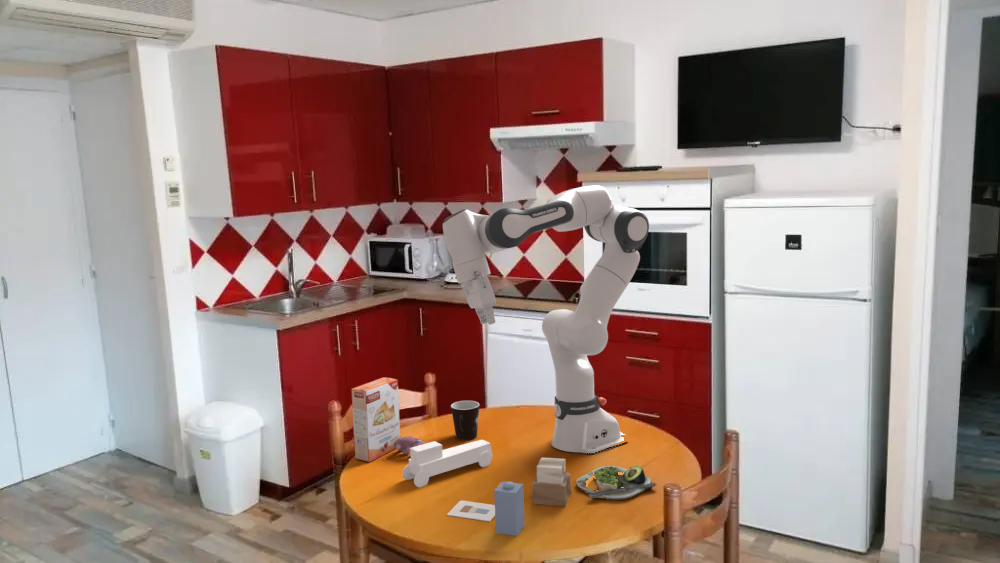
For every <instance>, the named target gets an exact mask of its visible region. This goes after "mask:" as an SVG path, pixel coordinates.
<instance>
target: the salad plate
mask: <svg viewBox="0 0 1000 563" xmlns="http://www.w3.org/2000/svg"><path fill="white" fill-rule="evenodd" d="M618 472H622V473H623V472H624V474H623V475H618ZM592 476H595V478H596V479H595V484H596V488H597V489H595V490H593V489H594V488H590V487H589V488H588V487H586V481H587V480H588V479H589V478H590V477H592ZM575 483H576V486H577V487H578V489H580V490H581V491H582V492H583V491H584V493H585V492H587V493H589V494H587V493H586V494H587V495H588V498H593V499H595V498H596V499H597V498H598V499H600V498H606V499H605V500H627V499H626V498H628V499H630V498H629V497H631V498H633V497H635V496H636V494H637V495H639V494H640V493H639V492H641V491H643V490H645V491H647V490H649V489H652V488H654V487H655V486H656V485H658V483H657V482H652V480H651V478H650V477H648V476H646V474H645V471H644V469H643V468H642V466H639V465H633V466H631V467H629V469H626V468H623V467H621V466H617V465H607V466H606V465H605V466H604V465H603V466H599V467H597V468H595V469H593V470H591V471H590V472H588V473H585V474H583V475H581V476H580V477H577V479H576V482H575ZM621 487H624V488H621ZM646 489H647V490H646ZM596 490H598V491H596ZM643 492H644V491H643ZM638 493H639V494H638ZM641 493H642V492H641ZM634 495H635V496H634ZM632 496H633V497H632Z"/></svg>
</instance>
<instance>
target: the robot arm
mask: <svg viewBox="0 0 1000 563" xmlns="http://www.w3.org/2000/svg"><path fill="white" fill-rule="evenodd" d="M582 228H584V231H585V232H586V234H587V235H588V237H590V238H591V239H592V240H594V241H596V242H600V243H601V242H602V243H604V249H603V252H602V255H601V256H600V258H599V259H598V261H597V262H596V263H595V264H594V266H593V268H592V269H591V271H590V272H589V273H588V275H587V277H586V278H585V279H584V280H583V282H582V283H581V286H580V287H579V288H580V289H579V294H580V298H579V300H578V301H579V302H578V305H577V307H576V309H575V311H573V310H571V309H566V308H562V309H561V308H560V309H554V310H551V311H549V312H548V313H547V314H546V315H544V318H543V320H542V322H541V330H542V333H543V335H544V337H545V339H546V341H547V344H548V347H549V350H550V354H551V358H552V362H553V367H554V368H553V369H554V376H555V377H554V378H555V396H554V416H555V421H554V422H555V423H554V429H553V436H552V439H551V442H550V443H551V446H552V447H553V448H555V449H557V450H560V451H564V452H568V453H580V454H581V453H582V454H587V453H588V455H590V454H589V453H594V454H596V453H595V452H597V453H599V452H598V451H600V450H603V449H605V448H608V447H611V446H613V445H615V444H617V443H620V442H622V441H624V437H621V435H626V434H625V433H624V434H623V432H622V431H621V430H620V429H621V428H620V424H619V422H618V421H617V419H616V418H615V417H614V416H613V415H612V414H610V413H609V412H607V411H606V410H604V409H603V408H601V406H605V405H606V404H607V399H606V398H604V397H602V396H600V397H599V396H598V395H596V394H595V371H594V368H593V367H592V366H593V365H591V363H590V361H589V358H588V356H595V355H598V354H600V353H601V352H603V351H604V350H605V348H606V347H607V344H608V341H609V332H608V324H609V320H610V316H611V314H612V312H613V310H614V307H615V305H616V304H617V303H618V301H619V299H620V298H621V296H622V295H623V293H624V291H625V290H626V289H627V287H628V286H629V283H630V282H631V280H632V278H633V277H634V275H635V273H636V271H637V268H638V266H639V263H640V260H641V255H640V252H639V250H640V249H641V248H642V247H643V246H644V243H645V241H646V239H647V238H648V233H649V231H650V230H649V229H650V222H649V219H648V217H647V215H646V214H644V213H643V212H642V211H640V210H638V209H636V208H629V207H626V206H620V205H613V200H612V197H611V195H610V192H609V191H608V190H607V189H606V188H605V187H604V186H601V185H585V186H579V187H576V188H570V189H568V190H564V191H561V192H560V193H557V194H556V195H553V196H551V197H550V198H549V199H547V201H546V203H544V204H541V205H538V206H534V207H530V208H527V209H518V208H512V207H505V208H500V209H498V210H497V211H494V212H493V213H492V214H490V215H487V214H480V213H477V212H473V211H471V210H469V209H462V210H459V211H457V212H454V213H453V214H451V215H449V216H447V217H446V218H445V219H444V221H443V222H442V232H443V237H444V240H445V245H446V247H447V250H448V251H447V252H448V253H449V254H450V257H451V261H452V266H453V267H452V268H453V271H454V275H455V278H456V281H457V283H458V284H459V285H460V287H461V289H462V292H463V295H464V297H465V300H466V302H467V304H468V306H469V307H470V309H475V312H476V314H477V316H478V319H479V321H480V324H481V325H484V324H488V325H494V324H495V323H496V318H495V313H494V307H493V306H495V305H496V304H497V299H496V296H495V293H494V289H493V287H492V284H491V282H490V279H489V277H488V275H491V274H492V273H491V270H490V267H489V263H488V260H487V256H486V254H492V253H493V254H495V253H498V252H501V251H503V250H504V251H505V250H507V249H511V248H512V249H513V248H515V247H518V246H519V245H520V244H522V243H523V242H524V241H525V240H526V239H527V238H528V237H530V236H531V235H532V234H536V233H538V232H542V231H545V230H547V229H553V230H554V231H556V232H559V233H561V232H569V231H574V230H578V229H582ZM600 405H601V406H600ZM603 451H604V450H603ZM600 452H601V451H600Z"/></svg>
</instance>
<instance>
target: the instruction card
mask: <svg viewBox="0 0 1000 563" xmlns="http://www.w3.org/2000/svg"><path fill="white" fill-rule="evenodd" d="M446 516H449V517H455V518H461V519H462V518H463V519H470V520H475V521H476V520H477V521H481V522H488V523H491V521H493V519H494V517H495V504H489V503H482V502H476V501H475V502H474V501H468V500H459V501H458V502H457V503H456V504H455V505H454V506H453V507H452V509H451V510H449V512H447V514H446Z"/></svg>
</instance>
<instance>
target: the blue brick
mask: <svg viewBox="0 0 1000 563" xmlns="http://www.w3.org/2000/svg"><path fill="white" fill-rule="evenodd" d="M493 491H494V492H493V493H494V505H495V533H496V534H501V535H502V534H503V535H507V536H513V535H514V537H518V535H519V534H520V533H521V531H522V530H523V529H522V528H524V527H525V502H524V500H525V499H524V498H525V497H524V483H517V482H513V481H501V482H500V483H499V485H497V486H496V488H495V489H494V490H493Z"/></svg>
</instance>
